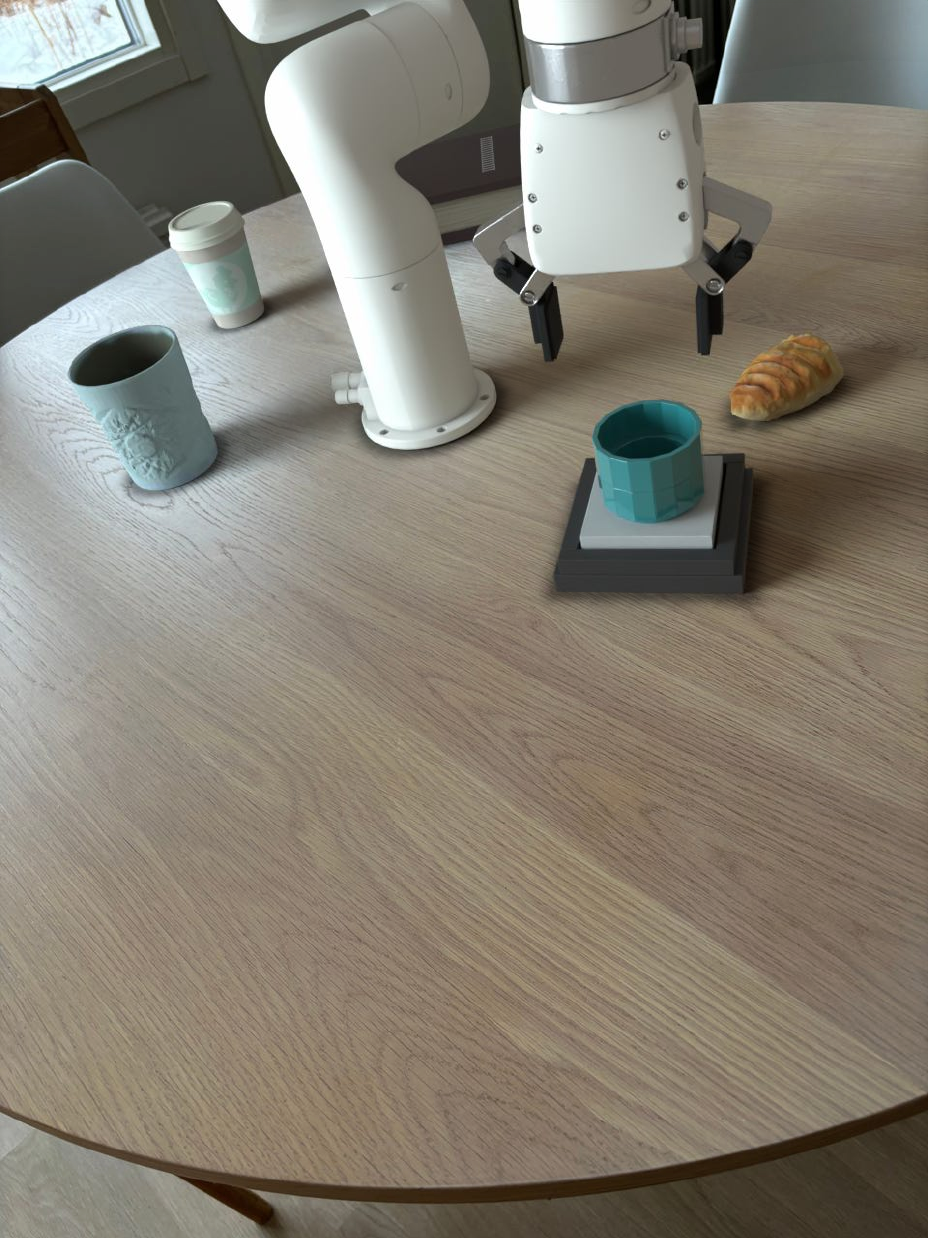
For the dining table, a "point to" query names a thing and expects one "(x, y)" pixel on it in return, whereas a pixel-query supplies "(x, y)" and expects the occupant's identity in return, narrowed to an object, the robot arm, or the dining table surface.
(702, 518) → the pan
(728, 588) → the scale
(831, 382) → the pastry
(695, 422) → the teal faceted cup
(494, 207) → the book
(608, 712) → the dining table surface
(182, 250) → the coffee cup
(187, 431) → the embossed blue pot
